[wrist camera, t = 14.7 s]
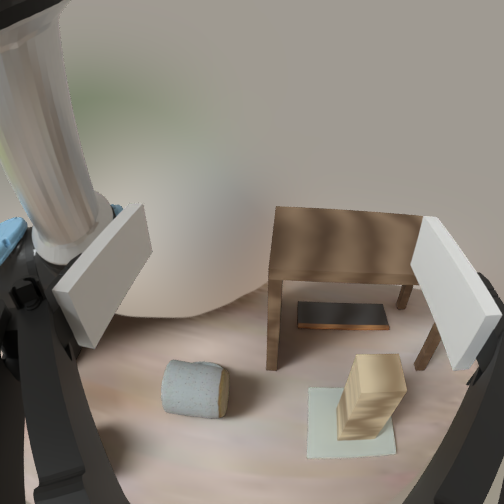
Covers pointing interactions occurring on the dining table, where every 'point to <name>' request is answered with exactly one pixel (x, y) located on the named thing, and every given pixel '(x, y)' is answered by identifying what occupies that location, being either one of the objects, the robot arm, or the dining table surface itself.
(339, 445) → the pad
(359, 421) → the maple block
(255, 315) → the dining table surface
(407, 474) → the dining table surface
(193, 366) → the ceramic mug
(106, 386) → the dining table surface
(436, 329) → the small wooden table
